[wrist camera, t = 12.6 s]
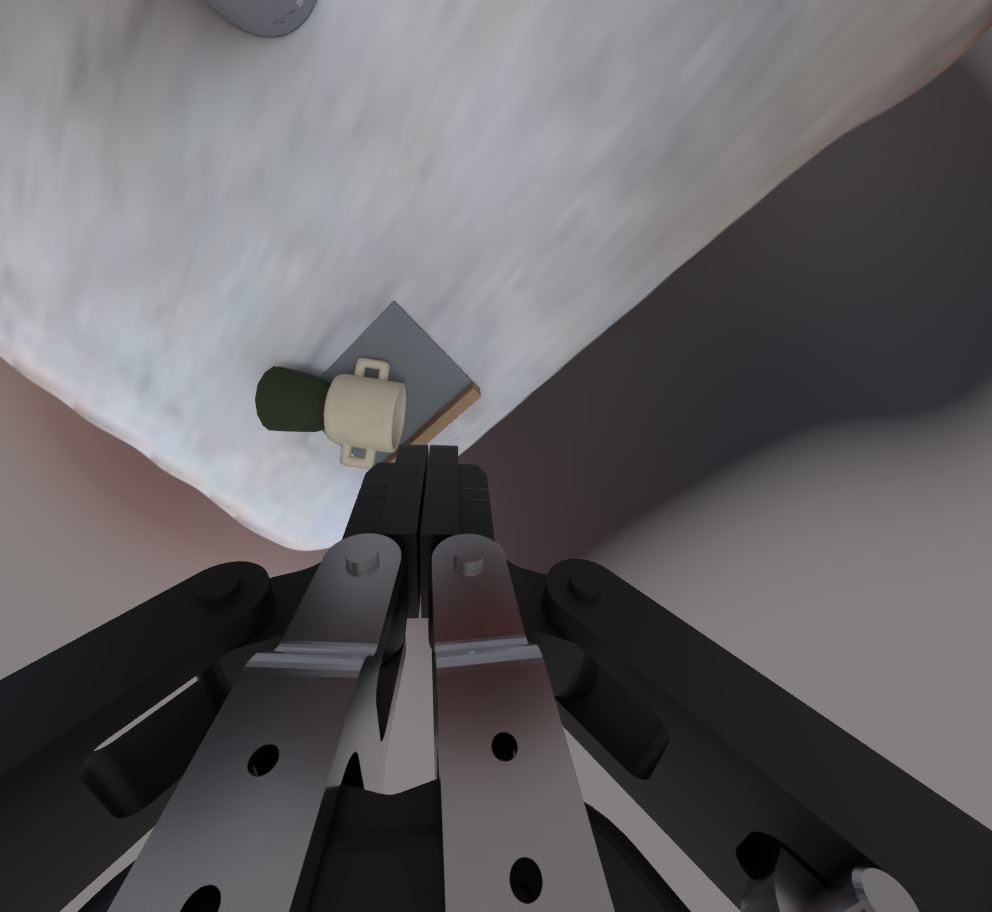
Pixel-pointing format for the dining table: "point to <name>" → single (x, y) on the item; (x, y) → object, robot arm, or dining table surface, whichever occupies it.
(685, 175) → the dining table surface
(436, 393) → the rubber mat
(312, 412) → the character mug
